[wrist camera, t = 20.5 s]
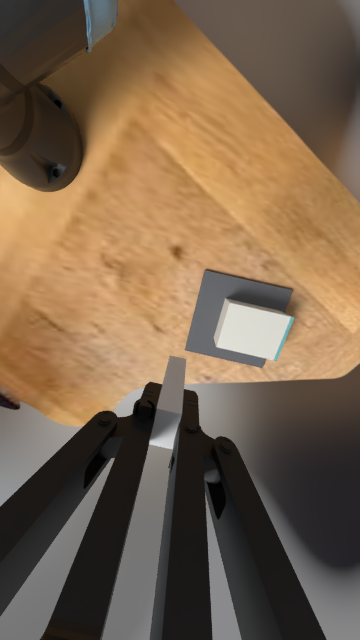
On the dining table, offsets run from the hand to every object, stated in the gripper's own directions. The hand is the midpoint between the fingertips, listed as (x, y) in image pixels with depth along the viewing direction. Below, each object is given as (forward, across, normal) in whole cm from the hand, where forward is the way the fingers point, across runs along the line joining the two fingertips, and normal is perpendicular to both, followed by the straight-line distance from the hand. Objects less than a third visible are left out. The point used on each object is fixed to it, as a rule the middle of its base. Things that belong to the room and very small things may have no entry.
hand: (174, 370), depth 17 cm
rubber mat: (+24, +11, 0) cm, 27 cm away
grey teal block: (+21, +8, 0) cm, 23 cm away
